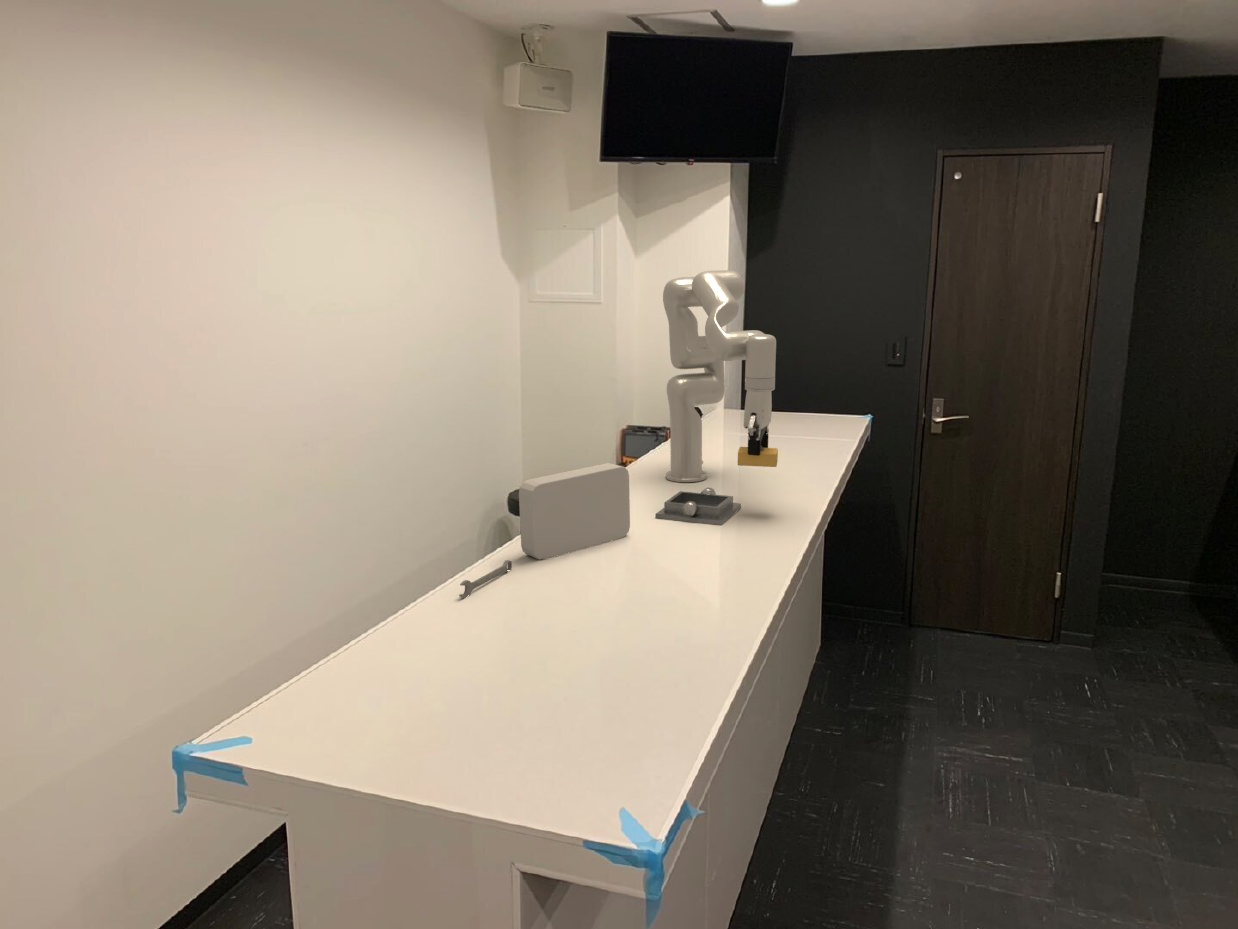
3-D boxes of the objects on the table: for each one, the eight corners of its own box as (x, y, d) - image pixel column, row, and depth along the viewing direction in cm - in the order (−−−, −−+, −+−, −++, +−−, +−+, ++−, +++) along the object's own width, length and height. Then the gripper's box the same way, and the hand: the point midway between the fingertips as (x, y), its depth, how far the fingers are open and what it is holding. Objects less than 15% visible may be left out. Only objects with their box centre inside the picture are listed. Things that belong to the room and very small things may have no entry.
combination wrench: (508, 556, 209) (455, 583, 191) (513, 556, 208) (460, 584, 191) (508, 572, 209) (456, 600, 192) (513, 573, 209) (461, 601, 191)
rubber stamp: (777, 461, 245) (779, 416, 242) (776, 467, 240) (778, 421, 237) (739, 460, 247) (740, 415, 244) (737, 465, 242) (738, 420, 239)
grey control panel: (611, 529, 237) (609, 459, 232) (630, 536, 231) (629, 464, 227) (515, 554, 219) (512, 479, 215) (534, 562, 213) (531, 485, 209)
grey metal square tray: (678, 501, 260) (678, 484, 259) (741, 507, 253) (741, 490, 252) (655, 518, 245) (655, 500, 244) (721, 525, 238) (721, 507, 237)
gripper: (755, 377, 247) (753, 443, 252) (735, 388, 232) (734, 458, 237) (783, 378, 244) (780, 445, 249) (765, 390, 229) (762, 461, 234)
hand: (757, 451), depth 243 cm, fingers closed on rubber stamp, 6 cm apart
